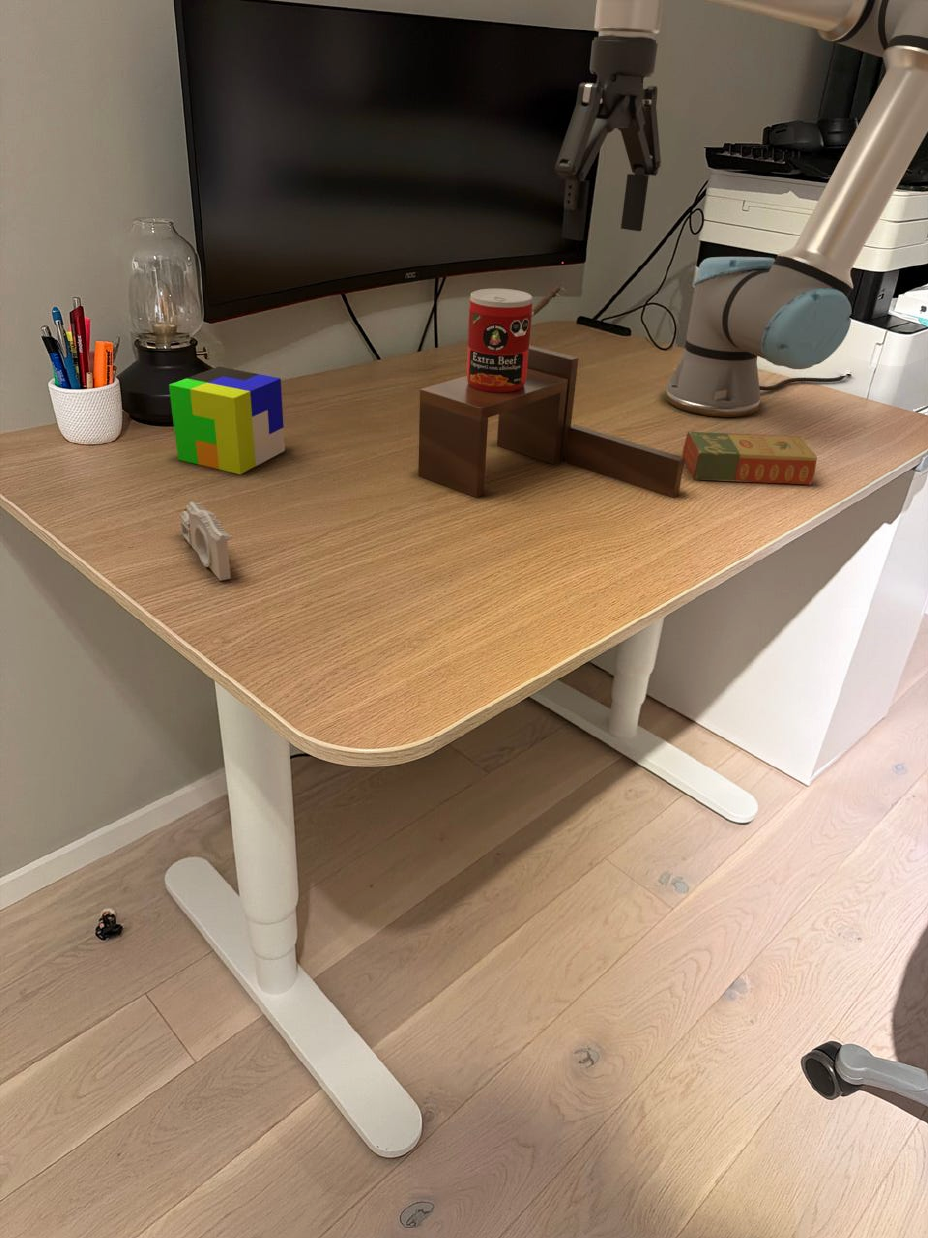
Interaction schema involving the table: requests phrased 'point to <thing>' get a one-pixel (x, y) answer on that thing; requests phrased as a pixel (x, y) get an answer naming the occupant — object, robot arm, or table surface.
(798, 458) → the carton
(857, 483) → the table surface
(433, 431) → the step shelf
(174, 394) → the puzzle toy
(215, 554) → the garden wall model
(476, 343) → the canned food
